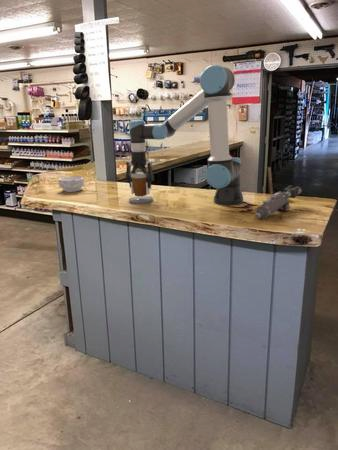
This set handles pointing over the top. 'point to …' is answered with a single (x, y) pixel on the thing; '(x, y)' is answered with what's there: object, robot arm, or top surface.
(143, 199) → the slate dish
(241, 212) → the top surface
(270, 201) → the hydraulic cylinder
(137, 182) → the disposable coffee cup
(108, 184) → the top surface
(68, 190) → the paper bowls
